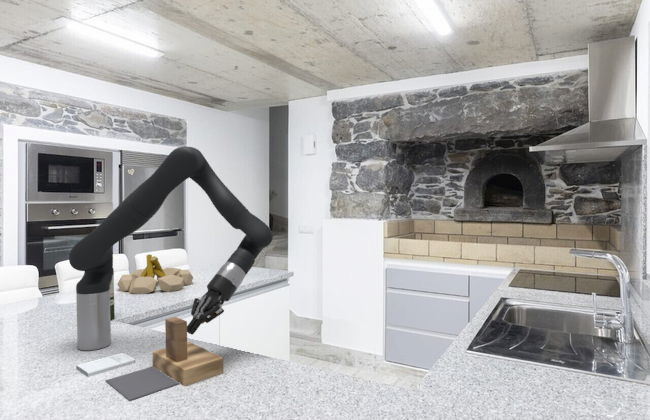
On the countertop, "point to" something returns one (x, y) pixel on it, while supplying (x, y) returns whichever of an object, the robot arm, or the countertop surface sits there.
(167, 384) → the mat
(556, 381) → the countertop surface
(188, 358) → the wooden block
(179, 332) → the brown wood brick
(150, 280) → the campfire
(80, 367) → the external hard drive
